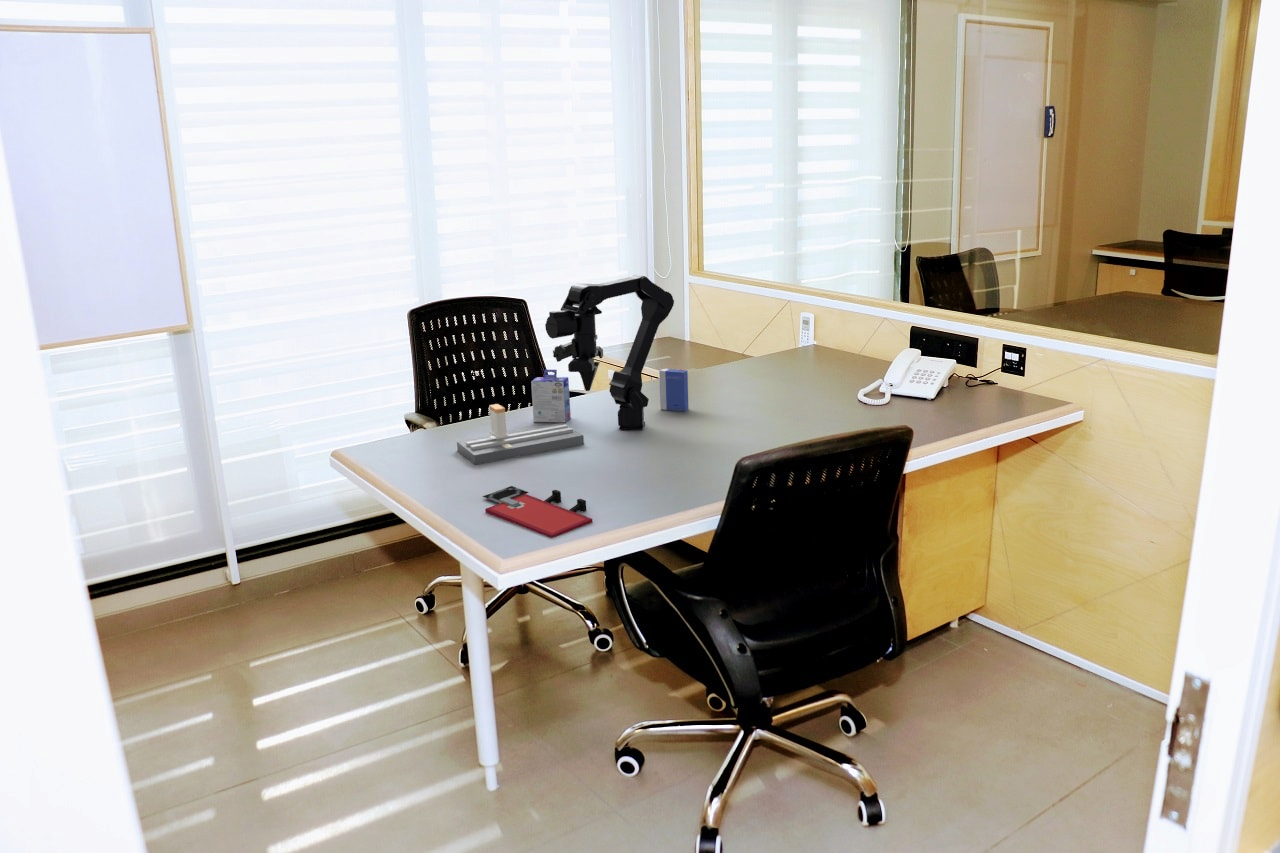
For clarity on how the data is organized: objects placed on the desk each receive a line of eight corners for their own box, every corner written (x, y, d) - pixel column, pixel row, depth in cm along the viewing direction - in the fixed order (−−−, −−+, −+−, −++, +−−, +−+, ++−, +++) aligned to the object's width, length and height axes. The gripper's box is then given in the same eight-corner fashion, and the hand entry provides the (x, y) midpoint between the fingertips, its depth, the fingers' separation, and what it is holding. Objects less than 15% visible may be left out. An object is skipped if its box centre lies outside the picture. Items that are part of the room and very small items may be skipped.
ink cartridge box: (571, 417, 299) (568, 368, 294) (566, 423, 293) (563, 373, 289) (538, 417, 301) (535, 368, 296) (533, 422, 295) (529, 372, 291)
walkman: (688, 409, 302) (687, 369, 299) (684, 411, 300) (683, 371, 297) (664, 407, 306) (662, 367, 302) (660, 409, 303) (658, 369, 300)
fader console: (562, 431, 285) (561, 420, 284) (583, 444, 273) (583, 432, 272) (457, 450, 272) (456, 438, 271) (475, 464, 260) (474, 452, 259)
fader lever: (501, 437, 273) (498, 403, 270) (509, 442, 268) (506, 408, 265) (490, 439, 271) (487, 405, 269) (497, 444, 266) (495, 410, 264)
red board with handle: (518, 487, 243) (465, 506, 233) (517, 476, 242) (464, 494, 232) (605, 519, 222) (552, 541, 212) (604, 507, 221) (551, 529, 212)
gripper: (561, 326, 281) (564, 382, 285) (546, 340, 263) (550, 399, 267) (602, 325, 279) (604, 382, 284) (590, 339, 262) (593, 399, 266)
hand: (587, 390), depth 275 cm, fingers closed
